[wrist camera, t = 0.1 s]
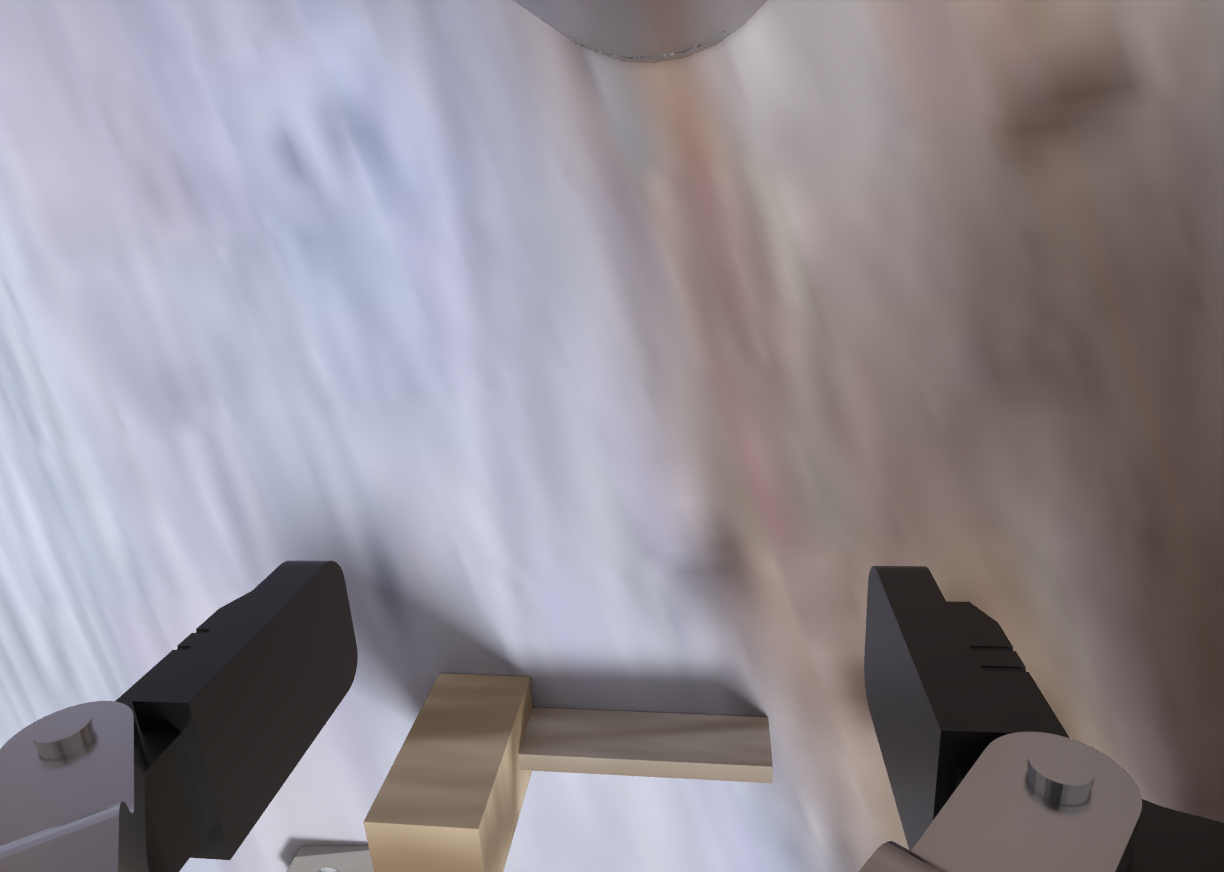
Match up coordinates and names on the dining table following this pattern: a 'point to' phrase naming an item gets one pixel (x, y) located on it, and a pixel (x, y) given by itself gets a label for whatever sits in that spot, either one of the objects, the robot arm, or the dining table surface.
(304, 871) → the kitchen cleaver
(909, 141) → the dining table surface
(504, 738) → the wooden mallet
